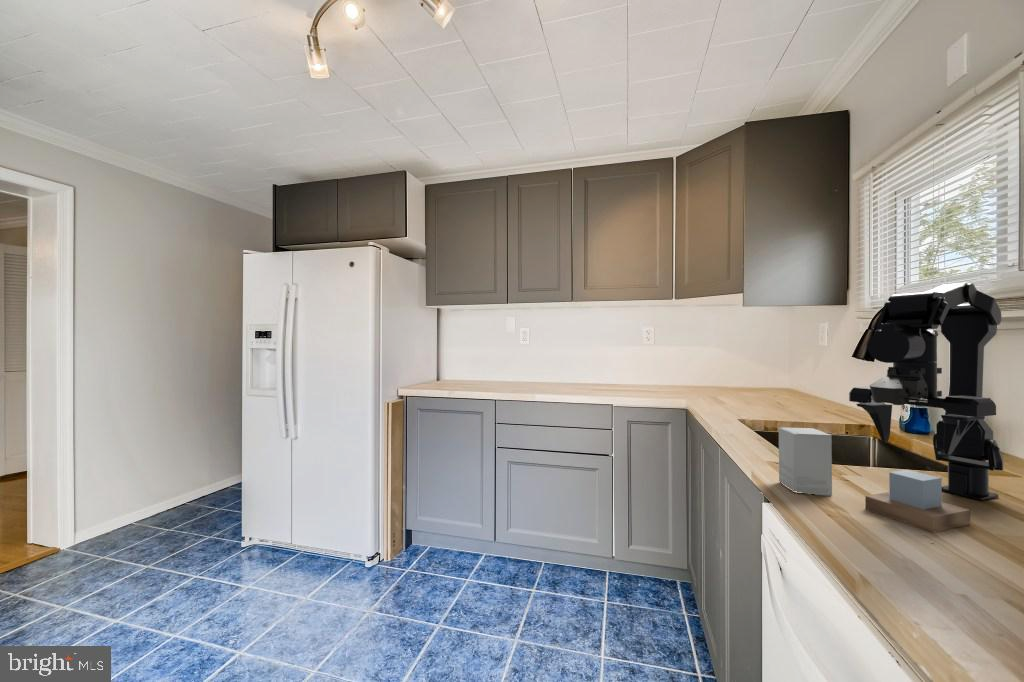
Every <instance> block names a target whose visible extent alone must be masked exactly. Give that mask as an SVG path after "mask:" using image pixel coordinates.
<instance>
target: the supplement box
mask: <svg viewBox="0 0 1024 682" xmlns="http://www.w3.org/2000/svg"><path fill="white" fill-rule="evenodd" d="M832 442H833V441H832V434H829V433H826V432H824V431H821V430H819V429H816V428H814V427H813V428H809V427H806V428H805V427H778V482H779V481H780V482H782V483H783V484H784V485H786V486H787V487H789V488H790V489H792V490H793V491H797V492H802V493H808V494H807V495H811V494H815V495H814V496H829V497H831V496H833V472H832V471H833V458H832V457H833V455H832V454H833V453H832V451H833V450H832V449H833V448H832V445H833V444H832ZM784 485H783V486H784Z"/></svg>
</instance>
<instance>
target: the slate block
mask: <svg viewBox="0 0 1024 682" xmlns="http://www.w3.org/2000/svg"><path fill="white" fill-rule="evenodd" d="M888 474H889V478H888V479H889V492H890V499H891V500H894V501H897V502H900V503H903V504H907V505H910V506H913V507H916V508H920V509H923V510H924V509H929V508H935V507H940V506H942V502H943V501H942V500H943V498H942V496H943V495H942V494H943V493H942V491H943V490H942V477H939V476H934V475H932V474H931V475H930V474H926V473H923V472H918V471H914V470H911V469H902V470H896V471H889V473H888Z"/></svg>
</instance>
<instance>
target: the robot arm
mask: <svg viewBox="0 0 1024 682" xmlns="http://www.w3.org/2000/svg"><path fill="white" fill-rule="evenodd" d="M1001 322H1002V311H1001V308H1000V305H998V303H997V300H996V299H995V298H994V297H993V296H991V295H989V294H986V293H984V292H982V291H979V290H977V287H976V286H975V284H974V283H972V282H970V283H969V282H957V283H943V284H941V285H940V286H939V285H938V286H935V288H933V289H929V290H926V291H923V292H911V293H910V292H909V293H899V294H892V295H890V296H889V297H888V299H887V301H885V302H884V305H883V308H882V310H881V312H880V315H879V318H878V320H877V323H876V325H875V329H876V331H877V332H875V333H874V334H872V335H871V337H870V338H869V340H868V342H867V345H866V348H867V351H868V353H869V356H871V357H872V358H873V359H874V360H876V361H878V362H881V363H886V364H889V363H890V364H893V365H892V366H888V369H887V371H886V372H887V374H886V376H885V377H881V378H880V379H877V380H876V381H874V382H872V383H871V384H869V386H859V387H853V388H852V389H850V391H849V393H848V400H849V402H852V403H856V407H858V408H862V409H863V410H864V411H865V412H866V413H868V415H869V416H870V418H871V420H872V422H873V424H874V426H875V429H876V430H877V432H878V435H879V438H880V440H881V441H882V442H883V443H888V442H889V440H890V435H891V428H892V427H891V426H892V413H893V406H903V405H910V406H920V407H928V408H937V409H943V410H944V411H945V412H946V413H947V414H941V415H940V417H941V420H939V421H938V422H937V423H936V425H935V426H936V428H935V429H936V431H935V432H934V434H933V437H932V445H933V451H934V456H935V457H934V458H935V461H938V462H939V461H941V462H947V485H944V486H942V491H943V492H947V493H951V494H955V495H958V496H963V497H966V498H970V499H972V500H973V499H974V500H978V501H983V500H989V499H993V498H994V499H995V498H998V497H999V494H998V493H995V492H991V491H990V471H992V472H994V471H1004V469H1005V468H1004V464H1005V463H1004V457H1003V455H1002V451H1001V448H1000V447H999V445H998V443H997V441H996V439H994V431H993V430H992V428H991V427H990V425H989V424H988V423H987V422H986V420H985V417H989V416H991V417H992V416H997V404H996V403H995V402H994V400H993V399H992V398H991V397H983V390H984V389H983V386H984V385H983V384H984V356H985V355H984V354H985V346H987V344H988V343H989V342H990V341H991V340H992V339H993V338H994V337H995V336H996V335H997V331H998V326H1000V324H1001ZM938 327H940V332H941V334H942V335H943V336H944V337H945V339H946V340H947V341H948V342H949V343H950V346H951V347H950V348H951V349H950V350H951V351H950V352H951V353H950V374H949V375H950V377H949V395H948V396H945V397H942V396H943V391H942V390H938V375H939V374H942V369H943V368H942V367H938V336H939V332H938V331H937V330H936V329H938Z"/></svg>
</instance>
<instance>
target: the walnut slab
mask: <svg viewBox="0 0 1024 682" xmlns="http://www.w3.org/2000/svg"><path fill="white" fill-rule="evenodd" d="M864 497H865V500H864V502H865V510H866V511H870V512H872V513H876V514H877V515H881V516H884V517H887V518H890V519H893V520H896V521H899V522H902V523H904V524H907V525H910V526H912V527H916V528H919V529H922V530H924V531H928V532H931V533H936V532H941V531H944V530H945V531H946V530H949V529H955V528H959V527H964V526H968V525H971V510H970V509H969V508H964V507H961V506H958V505H954V504H951V503H948V502H944V501H942V506H940V507H935V508H929V509H924V510H923V509H920V508H916V507H913V506H910V505H907V504H903V503H900V502H897V501H894V500H891V499H890V491H888V492H882V493H875V494H868V495H865V496H864Z"/></svg>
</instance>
